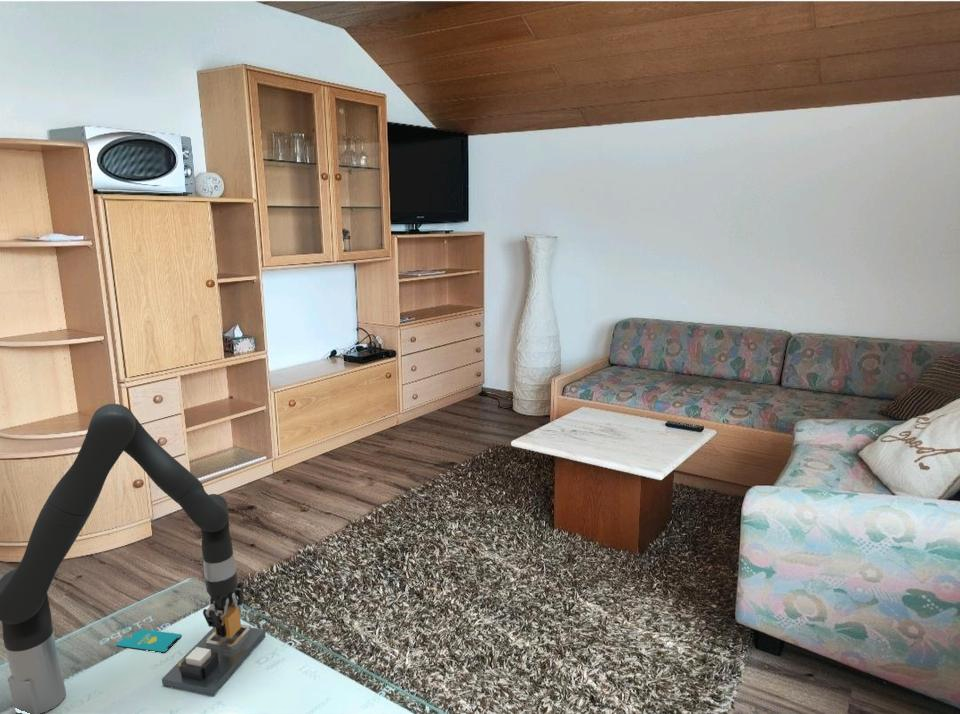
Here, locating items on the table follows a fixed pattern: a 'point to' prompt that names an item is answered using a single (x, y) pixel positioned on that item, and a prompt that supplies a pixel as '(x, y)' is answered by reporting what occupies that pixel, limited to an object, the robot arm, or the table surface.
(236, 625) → the cap
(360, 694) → the table surface
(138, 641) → the smartphone
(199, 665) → the button
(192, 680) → the grey control panel
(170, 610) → the table surface
